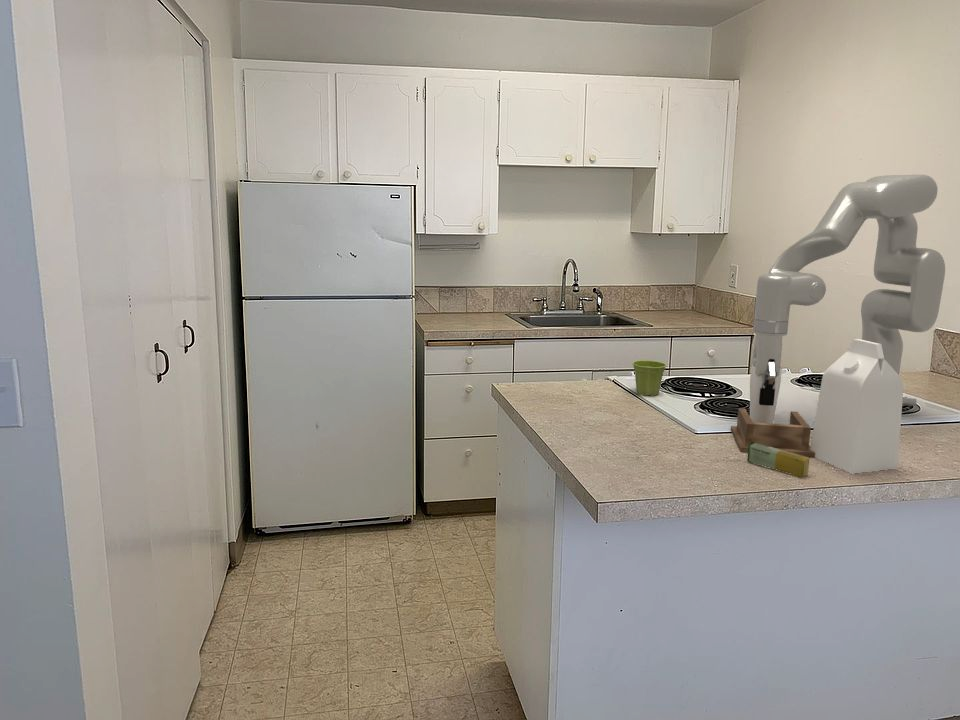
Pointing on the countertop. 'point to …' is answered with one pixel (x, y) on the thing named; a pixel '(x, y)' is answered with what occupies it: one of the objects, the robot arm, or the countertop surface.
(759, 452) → the medication box
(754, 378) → the drinking glass
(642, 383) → the plant pot
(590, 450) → the countertop surface
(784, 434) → the wooden open tray
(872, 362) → the milk
